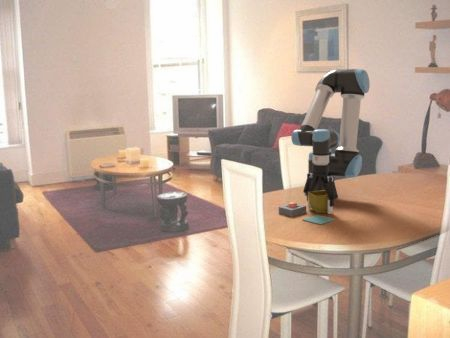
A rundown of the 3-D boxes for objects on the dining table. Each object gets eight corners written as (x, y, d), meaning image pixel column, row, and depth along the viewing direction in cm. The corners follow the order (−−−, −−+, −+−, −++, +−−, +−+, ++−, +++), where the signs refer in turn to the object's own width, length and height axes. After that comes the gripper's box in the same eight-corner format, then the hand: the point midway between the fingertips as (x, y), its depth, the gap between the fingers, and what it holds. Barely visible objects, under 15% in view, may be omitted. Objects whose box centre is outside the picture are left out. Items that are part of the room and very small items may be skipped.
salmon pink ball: (292, 210, 247) (292, 201, 246) (298, 211, 244) (298, 203, 243) (286, 211, 244) (286, 203, 244) (292, 213, 241) (292, 204, 241)
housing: (293, 209, 250) (293, 202, 250) (306, 212, 244) (306, 205, 244) (278, 213, 244) (278, 206, 243) (291, 216, 238) (291, 210, 237)
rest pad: (316, 215, 239) (317, 214, 239) (335, 220, 231) (335, 219, 231) (302, 220, 232) (302, 219, 232) (320, 225, 225) (320, 224, 225)
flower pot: (315, 215, 240) (315, 195, 238) (307, 210, 248) (307, 191, 246) (333, 213, 242) (333, 194, 240) (324, 208, 250) (324, 189, 248)
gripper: (295, 161, 247) (295, 207, 251) (336, 168, 229) (335, 217, 234) (306, 159, 251) (305, 204, 256) (347, 165, 234) (345, 214, 239)
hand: (319, 210), depth 245 cm, fingers closed on flower pot, 11 cm apart
